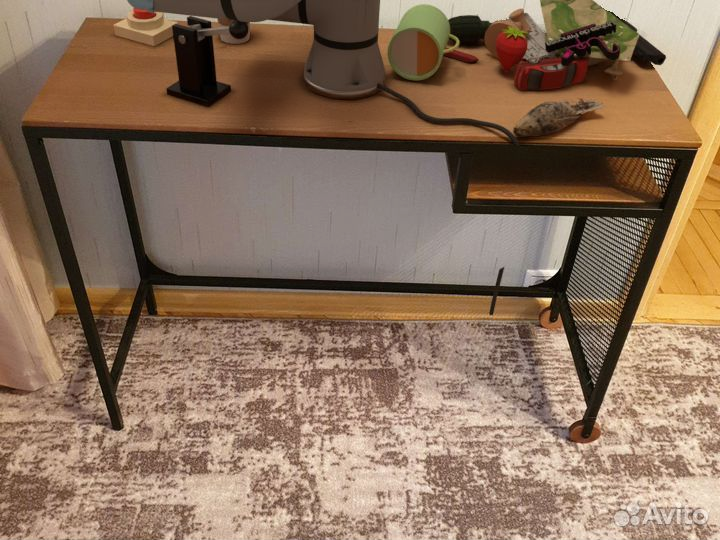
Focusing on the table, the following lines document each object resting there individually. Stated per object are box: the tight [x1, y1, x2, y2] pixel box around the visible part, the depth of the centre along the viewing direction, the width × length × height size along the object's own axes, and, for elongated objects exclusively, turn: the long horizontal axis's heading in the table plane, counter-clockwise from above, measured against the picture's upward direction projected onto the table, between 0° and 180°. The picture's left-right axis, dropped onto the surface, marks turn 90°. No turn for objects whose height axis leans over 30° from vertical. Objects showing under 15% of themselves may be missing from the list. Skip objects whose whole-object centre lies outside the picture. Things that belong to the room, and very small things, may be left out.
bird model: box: [512, 98, 606, 138], centre depth 125 cm, size 21×6×5 cm, turn 126°
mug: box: [387, 3, 461, 81], centre depth 137 cm, size 13×10×12 cm
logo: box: [545, 21, 620, 66], centre depth 134 cm, size 13×2×10 cm
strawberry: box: [496, 22, 530, 73], centre depth 138 cm, size 6×8×10 cm
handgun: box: [608, 11, 667, 66], centre depth 156 cm, size 4×29×15 cm
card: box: [539, 0, 640, 62], centre depth 142 cm, size 22×25×1 cm
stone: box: [492, 12, 562, 61], centre depth 151 cm, size 22×3×10 cm
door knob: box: [484, 8, 531, 60], centre depth 145 cm, size 8×10×8 cm
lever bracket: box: [166, 15, 232, 108], centre depth 125 cm, size 9×7×13 cm
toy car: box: [513, 56, 589, 91], centre depth 137 cm, size 6×15×5 cm
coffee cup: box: [216, 18, 251, 45], centre depth 143 cm, size 8×8×15 cm
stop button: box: [132, 7, 155, 19], centre depth 145 cm, size 4×4×2 cm
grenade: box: [448, 14, 493, 45], centre depth 149 cm, size 6×6×12 cm
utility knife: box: [443, 46, 479, 63], centre depth 146 cm, size 12×1×2 cm
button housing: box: [112, 9, 179, 47], centre depth 146 cm, size 10×8×4 cm
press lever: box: [185, 20, 249, 42], centre depth 120 cm, size 13×3×3 cm, turn 63°
